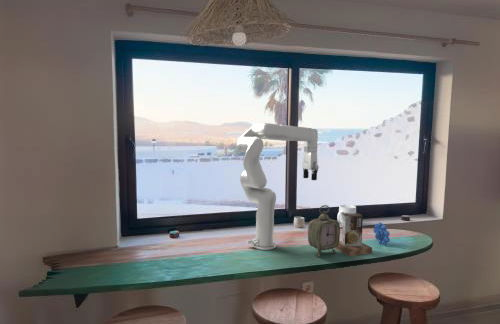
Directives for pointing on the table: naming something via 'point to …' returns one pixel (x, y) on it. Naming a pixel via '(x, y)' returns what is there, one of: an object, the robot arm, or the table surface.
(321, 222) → the tabletop clock
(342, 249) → the walnut shelf
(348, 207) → the mug
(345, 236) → the coffee box
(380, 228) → the grapes
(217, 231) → the table surface
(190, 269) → the table surface
